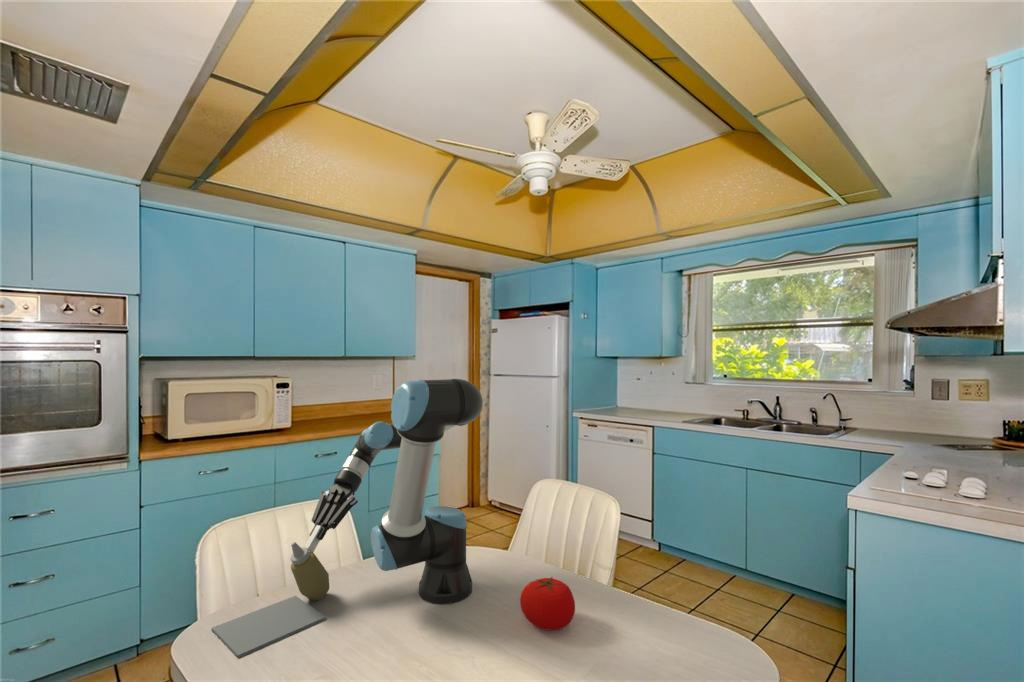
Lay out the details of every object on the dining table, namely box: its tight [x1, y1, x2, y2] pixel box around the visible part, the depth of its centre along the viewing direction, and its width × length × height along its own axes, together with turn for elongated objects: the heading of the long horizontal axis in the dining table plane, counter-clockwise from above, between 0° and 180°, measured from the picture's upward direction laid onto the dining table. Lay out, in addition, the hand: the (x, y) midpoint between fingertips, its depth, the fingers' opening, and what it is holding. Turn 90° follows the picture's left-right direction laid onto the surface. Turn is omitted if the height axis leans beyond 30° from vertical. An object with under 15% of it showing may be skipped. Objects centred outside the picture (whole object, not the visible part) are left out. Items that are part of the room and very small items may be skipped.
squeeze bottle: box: [289, 541, 330, 602], centre depth 135 cm, size 8×8×18 cm
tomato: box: [519, 576, 576, 631], centre depth 125 cm, size 14×13×10 cm
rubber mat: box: [211, 595, 327, 659], centre depth 125 cm, size 16×21×1 cm
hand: (308, 549), depth 137 cm, fingers closed
